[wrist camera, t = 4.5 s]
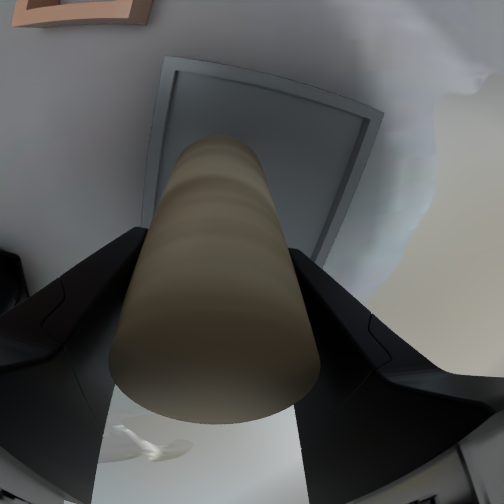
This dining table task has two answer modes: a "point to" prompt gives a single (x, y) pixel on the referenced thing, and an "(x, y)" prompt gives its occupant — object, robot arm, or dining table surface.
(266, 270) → the dowel pin
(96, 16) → the terracotta square frame
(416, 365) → the robot arm
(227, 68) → the charcoal tray
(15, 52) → the dining table surface
